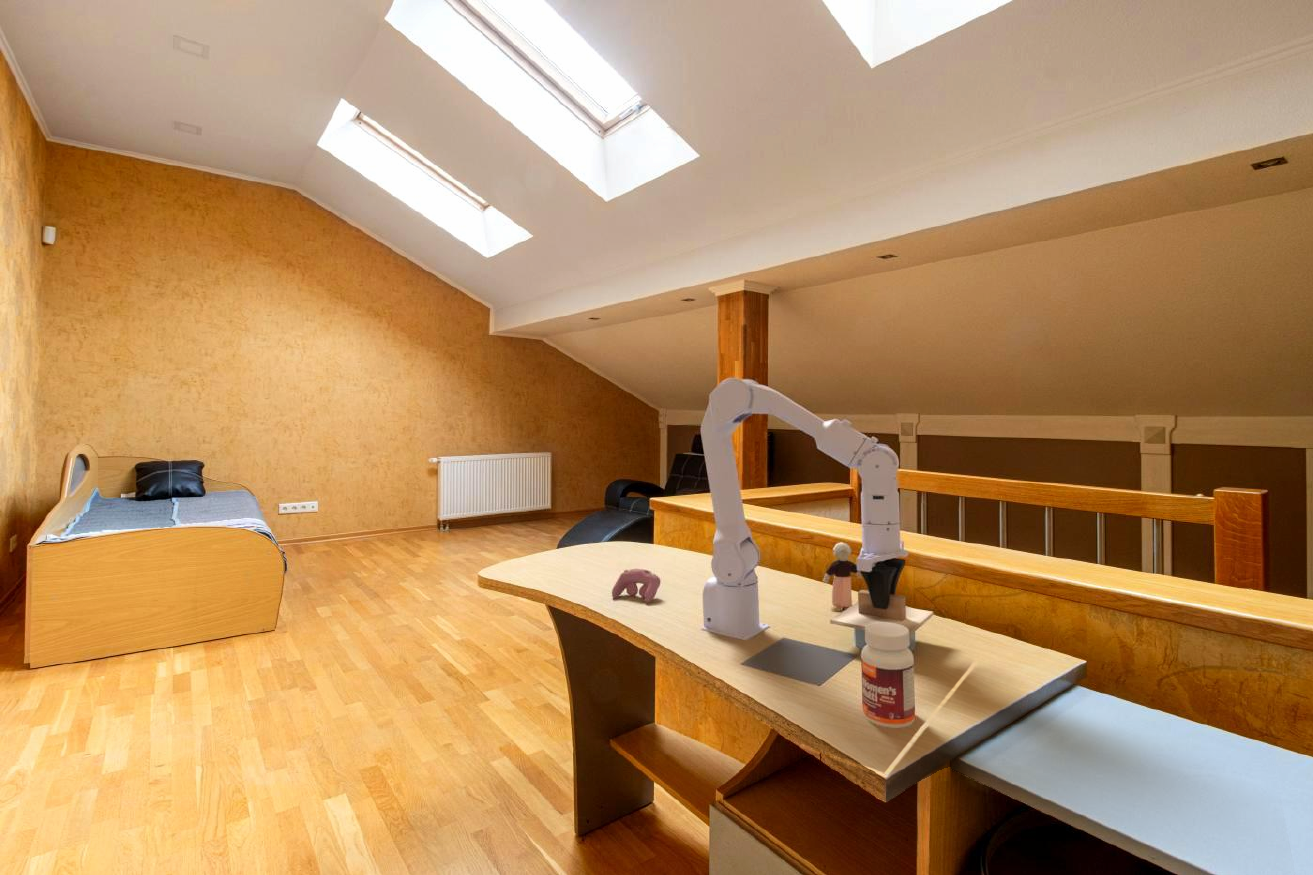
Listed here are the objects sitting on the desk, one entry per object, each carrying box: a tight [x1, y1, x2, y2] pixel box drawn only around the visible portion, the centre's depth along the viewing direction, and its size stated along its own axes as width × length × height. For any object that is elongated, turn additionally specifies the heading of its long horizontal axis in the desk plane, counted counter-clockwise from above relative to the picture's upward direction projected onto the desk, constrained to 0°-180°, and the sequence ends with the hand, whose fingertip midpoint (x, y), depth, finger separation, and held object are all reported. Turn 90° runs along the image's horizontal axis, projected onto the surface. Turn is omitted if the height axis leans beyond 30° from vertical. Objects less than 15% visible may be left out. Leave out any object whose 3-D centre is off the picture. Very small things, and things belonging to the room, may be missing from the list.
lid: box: [829, 589, 934, 636], centre depth 100 cm, size 12×12×4 cm
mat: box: [740, 637, 859, 687], centre depth 95 cm, size 13×13×1 cm
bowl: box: [853, 628, 917, 653], centre depth 100 cm, size 9×9×4 cm
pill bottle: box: [860, 622, 916, 729], centre depth 77 cm, size 6×6×11 cm
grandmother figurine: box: [822, 542, 863, 612], centre depth 119 cm, size 8×4×13 cm, turn 112°
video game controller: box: [611, 568, 661, 604], centre depth 132 cm, size 10×5×7 cm, turn 58°
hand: (883, 606), depth 100 cm, fingers closed on lid, 2 cm apart
